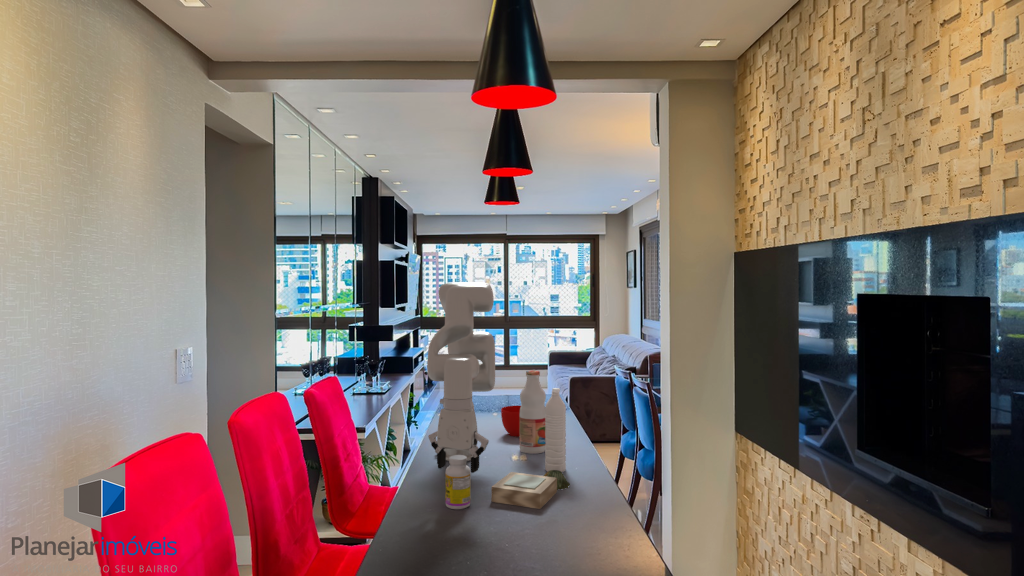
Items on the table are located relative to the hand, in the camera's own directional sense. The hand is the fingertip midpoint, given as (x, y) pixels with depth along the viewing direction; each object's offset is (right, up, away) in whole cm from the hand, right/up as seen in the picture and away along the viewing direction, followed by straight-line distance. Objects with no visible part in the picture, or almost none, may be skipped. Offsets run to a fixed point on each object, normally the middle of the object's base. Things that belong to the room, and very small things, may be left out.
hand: (457, 469), depth 159 cm
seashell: (+27, -10, +18) cm, 34 cm away
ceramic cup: (+18, -9, +78) cm, 80 cm away
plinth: (+18, -10, +7) cm, 22 cm away
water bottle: (+28, -10, +32) cm, 44 cm away
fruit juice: (+22, -10, +53) cm, 58 cm away
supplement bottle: (0, -10, +1) cm, 10 cm away
